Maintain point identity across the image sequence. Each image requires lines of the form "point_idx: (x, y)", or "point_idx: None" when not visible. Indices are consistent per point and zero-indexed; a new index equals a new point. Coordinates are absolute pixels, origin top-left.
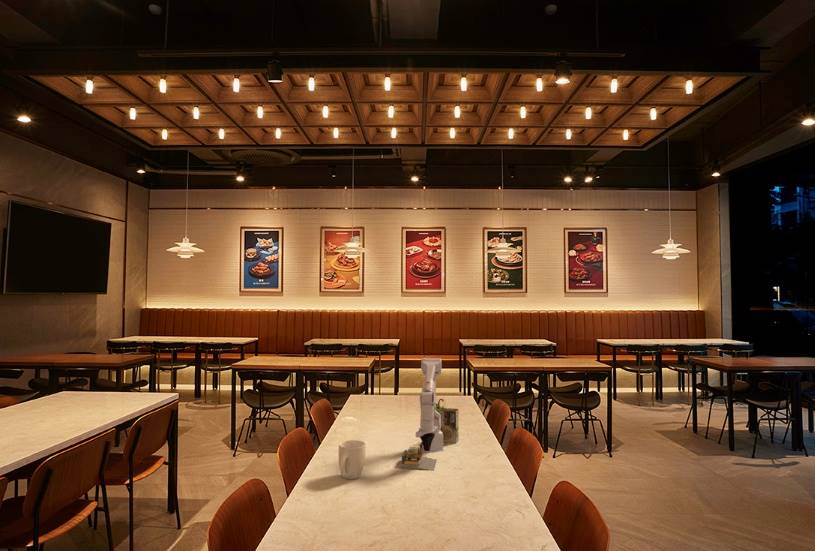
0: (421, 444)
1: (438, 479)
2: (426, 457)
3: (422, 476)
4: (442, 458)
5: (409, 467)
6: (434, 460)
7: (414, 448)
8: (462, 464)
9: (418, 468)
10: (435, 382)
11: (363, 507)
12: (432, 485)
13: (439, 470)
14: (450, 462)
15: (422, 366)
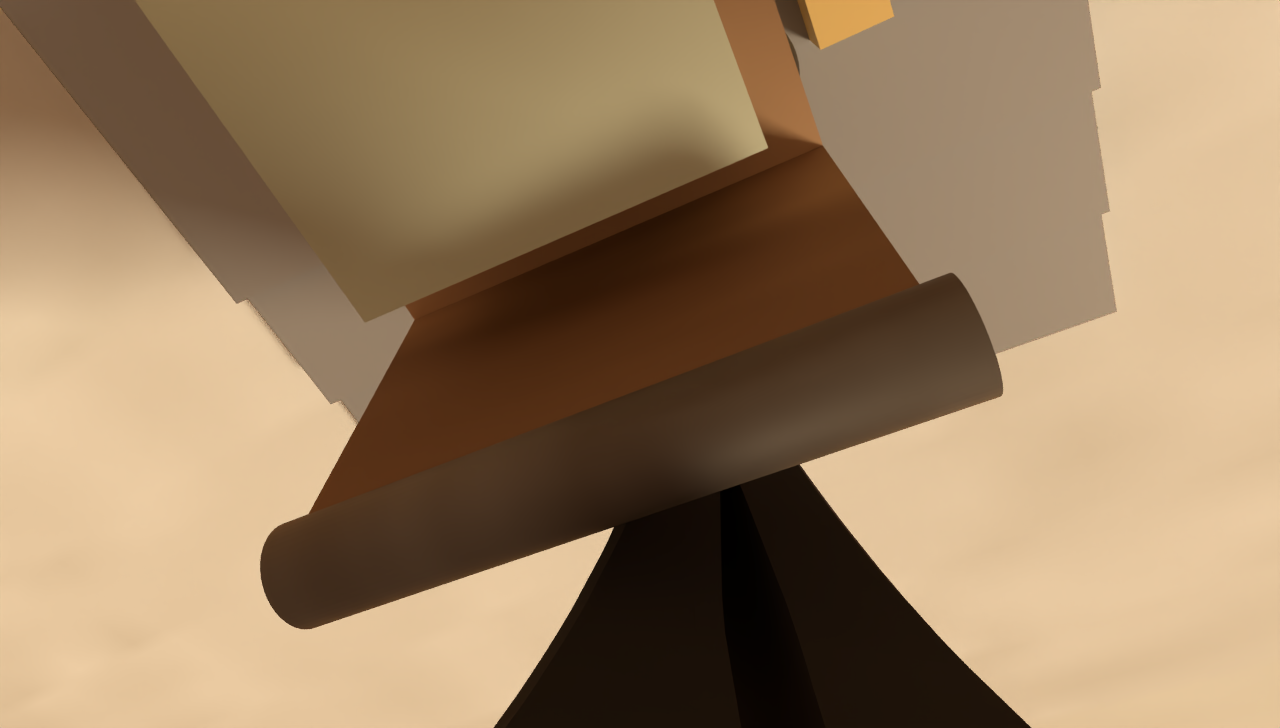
0: (469, 569)
1: (240, 695)
2: (1055, 93)
3: (111, 493)
4: (1257, 355)
5: (101, 104)
6: (1006, 306)
7: (418, 50)
8: (1027, 710)
9: (266, 305)
10: None
11: None
12: (9, 717)
13: (563, 576)
14: (1052, 558)
15: None
